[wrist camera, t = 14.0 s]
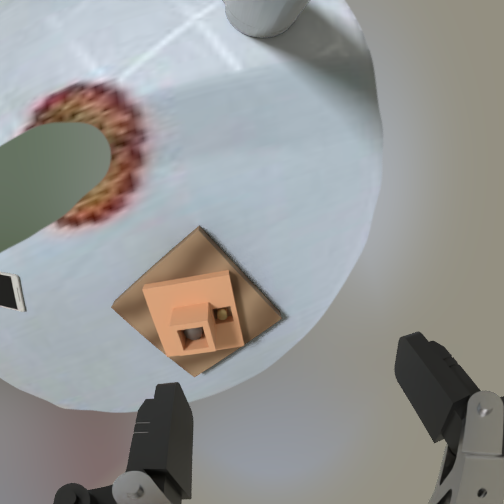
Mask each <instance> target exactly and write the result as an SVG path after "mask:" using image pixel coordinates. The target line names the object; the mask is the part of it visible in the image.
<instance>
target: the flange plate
mask: <svg viewBox="0 0 504 504" xmlns="http://www.w3.org/2000/svg"><path fill="white" fill-rule="evenodd" d="M142 290H143V293H144V296H145V299H146V302H147V305H148V308H149V311H150V313H151V316H152V319H153V322H154V324H155V327H156V330H157V332H158V335H159V338H160V340H161V343H162V345H163V348H164V350H165V353H166V355H167V357H171V356H179V355H180V356H184V355H192V354H199V353H206V352H213V351H216V350H222V349H228V348H234V347H240V346H244V340H243V335H242V330H241V326H240V321H239V317H238V312H237V307H236V302H235V298H234V293H233V288H232V283H231V279H230V274H229V270H226V271H220V272H214V273H209V274H203V275H197V276H191V277H186V278H180V279H174V280H168V281H162V282H157V283H151V284H145V285H144V287H143V289H142ZM228 306H230V307H231V311H232V316H228V317H227V318H226V319H225V320H220V319H218V318H215V314H214V310H213V309H216V308H222V307H228ZM198 327H203V328H202V336H201V337H200V338H199V339H197V340H190V339H188V338H187V337H186V336H185V334H184V329H191V328H198Z"/></svg>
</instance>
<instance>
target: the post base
mask: <svg viewBox="0 0 504 504" xmlns="http://www.w3.org/2000/svg"><path fill="white" fill-rule="evenodd" d="M226 270H229V274H230V279H231V283H232V288H233V293H234V298H235V302H236V307H237V312H238V317H239V321H240V326H241V330H242V335H243V340H244V345H245V344H246V343H248V342H249V341H250V340H252V339H253V338H255V337H256V336H258V335H259V334H261V333H262V332H264V331H265V330H266V329H268V328H269V327H271V326H272V325H273V324H275V323H276V322H278V321H279V320H281V319H282V317H281V314H280V311H279V310H278V309H277V308H276V307H275V306H274V305H273V304H272V303H271V302H270V301H269V300H268V299H267V298H266V297H265V296H264V294H263V293H262V292H261V291H260V290H259V289H258V288H257V287H256V286H255V285H254V284H253V283H252V282H251V281H250V280H249V279H248V277H247V276H246V275H245V274H244V273H243V272H242V271H241V270H240V269H239V268H238V267H237V266H236V265H235V264H234V262H233V261H232V260H231V259H230V258H229V257H228V256H227V255H226V254H225V253H224V252H223V251H222V250H221V249H220V247H219V246H218V245H217V244H216V243H215V242H214V241H213V240H212V239H211V238H210V237H209V236H208V234H207V233H206V232H205V231H204V230H203V229H202V228H201V227H200V226H198V227H197V228H196V229H195V230H194V231H192V232H191V233H190V234H189V235H188V236H187V237H185V238H184V239H183V240H182V241H181V242H180V243H178V244H177V245H176V246H175V247H174V248H173V249H172V250H170V251H169V252H168V253H167V254H166V255H165V256H164V257H162V258H161V259H160V260H159V261H158V262H157V263H156V264H155V265H153V266H152V267H151V268H150V269H149V270H148V271H147V272H146V273H145V274H143V275H142V276H141V277H140V278H139V279H138V280H137V281H136V282H135V283H133V284H132V285H131V286H130V287H129V288H128V289H127V290H126V291H125V292H124V293H123V294H121V295H120V296H119V297H118V298H117V299H116V300H115V301H114V303H113V305H112V307H111V308H112V309H114V310H115V311H116V312H117V313H118V314H119V315H120V316H121V317H122V318H123V319H124V320H126V321H127V322H128V323H129V324H130V325H131V326H132V327H133V328H135V329H136V330H137V331H138V332H139V333H140V334H141V335H143V336H144V337H145V338H146V339H147V340H149V341H150V342H151V343H152V344H153V345H154V346H156V347H157V348H158V349H159V350H161V351H162V352H163V353H164V354H165V355H166V353H165V350H164V348H163V345H162V343H161V340H160V338H159V335H158V332H157V330H156V327H155V324H154V322H153V319H152V316H151V313H150V311H149V308H148V305H147V302H146V299H145V296H144V293H143V290H142V289H143V287H144V285H145V284H151V283H157V282H162V281H168V280H174V279H180V278H186V277H191V276H197V275H203V274H209V273H214V272H220V271H226ZM213 310H214V314H215V318H218V319H220V320H225V319H226V318H227V317H228V316H232V311H231V307H230V306H228V307H222V308H216V309H213ZM202 328H203V327H198V328H191V329H184V334H185V336H186V337H187V338H188V339H190V340H197V339H199V338H200V337H201V336H202ZM240 347H242V346H240ZM240 347H234V348H228V349H222V350H216V351H213V352H206V353H199V354H192V355H184V356H180V355H179V356H171V357H169V358H170V359H172V360H173V361H174V362H175V363H177V364H178V365H179V366H180V367H182V368H183V369H184V370H186V371H187V372H188V373H190V374H191V375H192V376H194V377H196V376H197V375H199V374H200V373H202V372H204V371H205V370H207V369H208V368H210V367H211V366H213V365H214V364H216V363H218V362H219V361H221V360H222V359H224V358H225V357H227V356H228V355H230V354H231V353H233V352H234V351H236V350H237V349H239V348H240Z"/></svg>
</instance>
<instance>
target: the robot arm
mask: <svg viewBox="0 0 504 504" xmlns="http://www.w3.org/2000/svg"><path fill="white" fill-rule="evenodd" d="M223 1H224V3H225V12H226V15H227V18H228V20H229V22H230V23H231V24H232V25H233V26H234V27H235V28H236V29H237V30H239V31H240V32H242V33H244V34H246V35H249V36H252V37H259V38H267V37H273V36H277V35H279V34H281V33H283V32H285V31H286V30H287V29H288V28H289V27H290V26H291V25H292V24H293V23H294V21H295V20H296V19H297V17H298V16H299V14H300V13H301V12H302V10H303V9H304V8H305V6H306V5H307V4H308V2H309V1H310V0H223ZM395 376H396V379H397V381H398V383H399V384H400V386H401V388H402V389H403V391H404V393H405V394H406V396H407V397H408V399H409V401H410V403H411V404H412V406H413V408H414V409H415V411H416V413H417V414H418V416H419V418H420V419H421V421H422V423H423V424H424V426H425V428H426V430H427V431H428V433H429V435H430V436H431V438H432V440H433V442H434V443H436V442H438V441H440V440H442V439H445V441H446V442H447V445H446V447H445V451H444V456H443V460H442V464H441V469H440V473H439V476H438V480H437V484H436V487H435V490H434V493H433V495H432V497H431V499H430V501H429V503H428V504H503V499H504V397H499V396H498V395H497V394H495V393H493V392H490V391H480V389H479V388H478V387H477V386H476V385H475V383H474V382H473V381H472V380H471V378H470V377H469V376H468V375H467V374H466V372H465V371H464V370H463V369H462V367H461V366H460V365H458V363H457V361H456V360H455V359H454V358H452V357H451V354H450V353H449V352H448V351H447V350H446V348H445V347H444V346H442V345H440V344H438V343H437V342H435V341H430V342H428V340H427V339H426V338H425V337H424V336H423V334H421V333H420V332H415V333H412V334H409V335H406V336H403V337H401V338H400V339H399V343H398V349H397V355H396V361H395ZM192 447H193V416H192V411H191V408H190V406H189V404H188V402H187V399H186V397H185V395H184V393H183V390H182V388H181V386H180V384H179V383H178V382H175V383H165V384H157V386H156V390H155V395H154V399H146V400H145V401H144V403H143V404H142V405H141V407H140V408H139V410H138V414H137V418H136V424H135V428H134V434H133V438H132V443H131V448H130V454H129V459H128V465H127V469H126V472H125V473H123V474H122V475H120V476H119V477H118V478H117V479H116V480H115V482H114V484H113V485H110V486H106V487H102V488H97V489H92V490H87V489H85V488H84V487H83V486H82V485H79V484H76V483H70V484H66V485H64V486H62V487H61V488H60V489H59V490H58V491H57V493H56V495H55V499H54V503H53V504H181V500H182V499H191V483H192Z"/></svg>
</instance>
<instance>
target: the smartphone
mask: <svg viewBox="0 0 504 504" xmlns="http://www.w3.org/2000/svg"><path fill="white" fill-rule="evenodd" d="M0 307H4V308H8V309H13V310H17V311H21V312H24V311H25V306H24V301H23V296H22V291H21V286H20V281H19V276H18V275H16V274H10V273H4V272H0Z"/></svg>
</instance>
